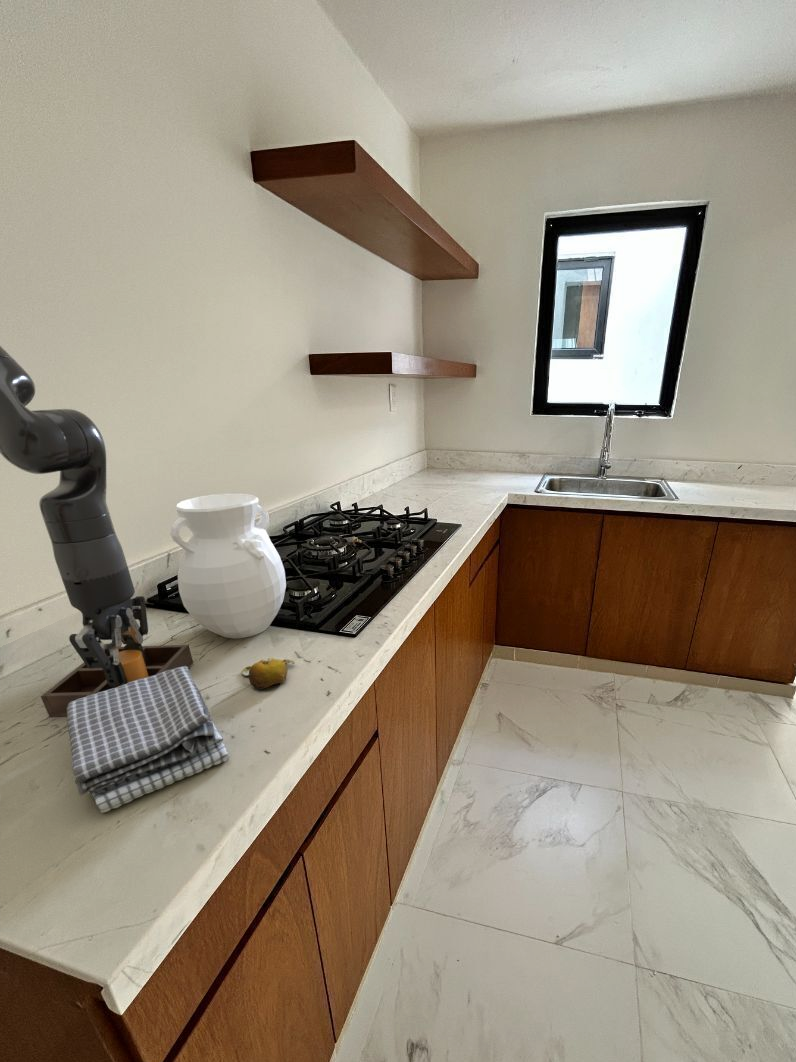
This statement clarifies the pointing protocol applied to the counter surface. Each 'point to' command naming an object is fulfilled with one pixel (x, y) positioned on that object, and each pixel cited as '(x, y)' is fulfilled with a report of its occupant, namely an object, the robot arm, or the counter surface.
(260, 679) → the yellow rounded lumpy piece
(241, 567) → the white vase
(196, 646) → the counter surface
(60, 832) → the counter surface
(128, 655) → the orange cylinder
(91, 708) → the towel
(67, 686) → the grid
